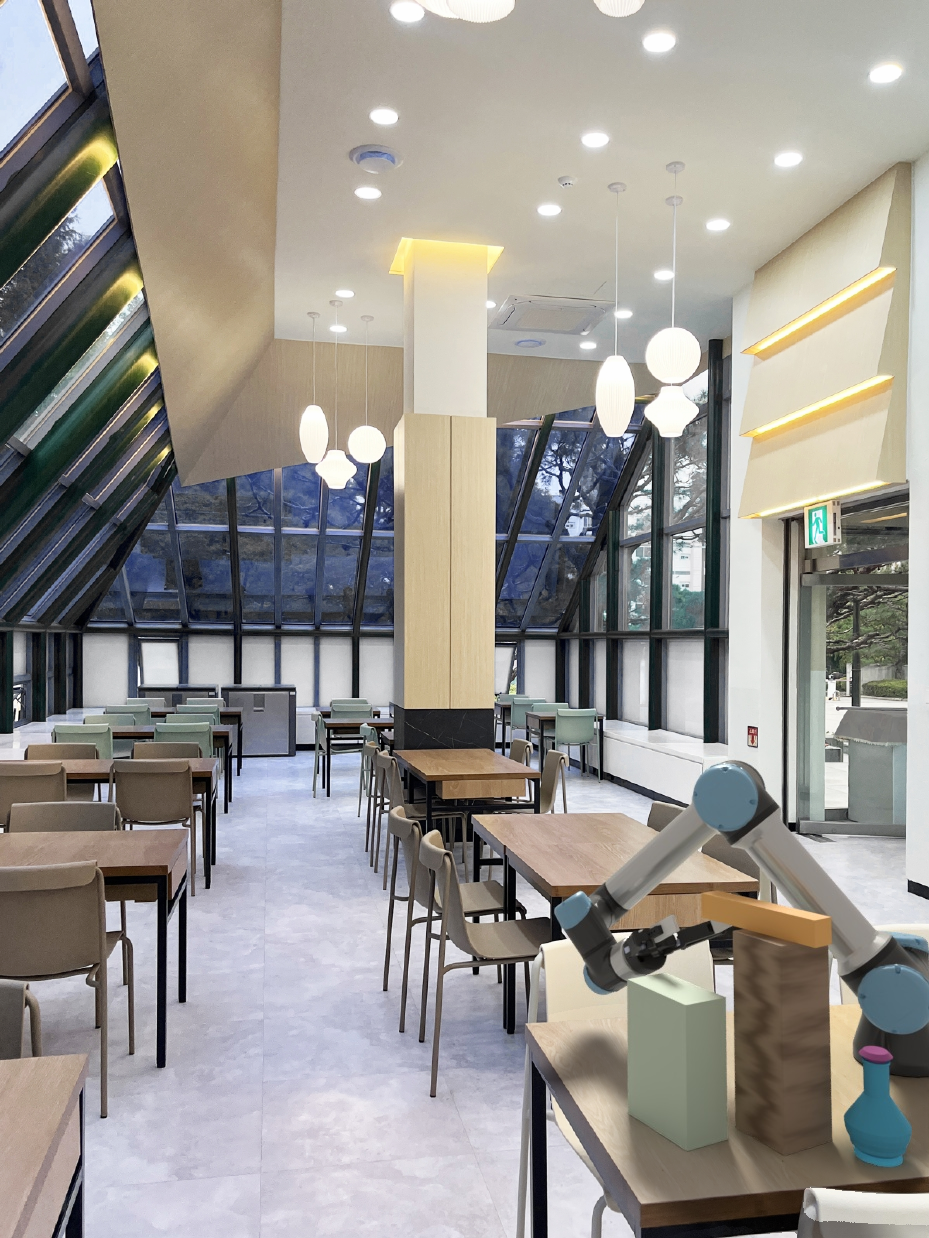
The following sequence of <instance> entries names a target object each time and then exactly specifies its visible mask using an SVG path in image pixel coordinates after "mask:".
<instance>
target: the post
mask: <svg viewBox="0 0 929 1238" xmlns="http://www.w3.org/2000/svg"><path fill="white" fill-rule="evenodd" d="M732 961H733V962H732V963H733V964H732V968H733V970H732V972H733V975H732V976H733V1044H734V1045H733V1046H734V1047H733V1055H734V1060H733V1061H734V1120H735V1121H734V1125H735V1128H736V1129H737V1130H739V1131H741V1132H743V1133H744V1134H746V1135H748V1136H750V1137H752V1138H753V1139H755V1140H757V1141H758V1142H760V1143H762V1144H763V1145H766V1146H768V1147H769V1148H771V1149H773V1151H776V1152H778V1153H780V1154H782V1155H783V1156H789V1155H791V1154H794V1153H795V1154H796V1153H797V1152H801V1151H804V1150H807V1149H810V1148H814V1147H816V1146H819V1145H824V1144H826V1143H829V1142H832V1141H833V1113H832V1112H833V1107H832V1106H833V1105H832V1063H831V1061H832V1060H831V1058H832V1057H831V1013H830V1010H831V1009H830V1005H831V1003H830V964H829V962H830V961H829V950H828V945H826V946H822V947H818V948H813V947H810V946H806V945H802V944H799V943H795V942H791V941H787V940H784V939H780V938H776V937H773V936H769V935H765V934H762V933H758V932H754V931H750V930H747V929H743V928H741V929H736V930H732Z"/></svg>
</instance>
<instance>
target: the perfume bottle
mask: <svg viewBox="0 0 929 1238" xmlns="http://www.w3.org/2000/svg"><path fill="white" fill-rule="evenodd" d="M859 1054H860V1055H861V1056H862V1061H863V1064H862V1078H863V1079H862V1081H863V1083H862V1084H863V1091H862V1092H861V1093H860V1095H859V1096H858V1097H857V1099H856V1100H855V1101H854V1102H853V1103H852V1104H851V1105H850V1106H849V1108H848V1109H847V1110H846V1111H845V1112H844V1115H843V1121H844V1126H845V1130H846V1132H847V1134H848V1136H849V1141H850V1143H851V1145H853V1153H854V1155H855V1156H856V1157H857V1158H858V1159H859V1160H860V1161H863V1162H865V1163H868V1164H869V1163H872V1164H874V1165H873V1166H876V1165H877V1166H878V1167H882V1166H883V1168H894V1167H898V1166H900V1165H902V1164H903V1161H904V1157H903V1155H905V1153H907V1147H908V1145H909V1144H910V1142H911V1139H912V1138H911V1137H912V1133H913V1132H912V1131H913V1127H912V1125H911V1123H910V1122H909V1120H908V1119H907V1117H906V1116H905V1115H904V1113H903V1112H902V1111H901V1109H900V1108H899V1107H898V1105H897V1103H896V1102H895V1101H894V1099H893V1098H892V1096H891V1092H890V1073H889V1065H890V1060H891V1059H893V1056H892V1055H891V1054H890V1053H889V1052H888V1051H887V1050H886V1049H884V1048H881V1047H877V1046H865V1047H863V1048H862V1049H861V1050H860V1051H859ZM901 1163H902V1164H901ZM872 1164H871V1165H872Z"/></svg>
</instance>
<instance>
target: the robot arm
mask: <svg viewBox="0 0 929 1238" xmlns="http://www.w3.org/2000/svg"><path fill="white" fill-rule="evenodd" d="M766 788H767V787H766V784H765V781H764V779H763V776H762V775H761V773H760V772H759V771H758V769H756V768H755V767H754V766H753V765H751V764H749V763H747V762H745V761H742V760H735V759H731V760H725V761H723V762H719V763H716V764H713V765H711V766H710V767H708V768H706V769H705V770H704V771H703V772H702V773H701V774H700V775H699V777H698V779H697V780H696V782H695V783H694V787H693V793H692V795H691V803H690V804H689V805H688V806H687V807H686V808H684V810H683V811H682V812H681V813H679V814H678V815H677V816H675V817H674V819H673V820H671V822H669V823H668V824H667V825H666V826H665V827H663V829H661V831H660V832H659V833H657V834H656V835H655V836H654V837H652V838H651V840H650V841H648V842H647V843H646V844H645V845H644V846H643V847H642V848H641V849H640V850H638V851H637V852H636V853H635V854H634V855H633V856H632V857H631V858H629V860H627V861H626V862H625V863H624V864H623V865H622V866H620V867H619V869H618V870H616V871H615V872H614V873H613V874H612V875H611V876H609V878H607V880H605V881H604V883H602V884H601V885H600V886H599V887H597V889H595V891H593V892H592V893H591V894H590V895H589V896H588V895H587V894H586V893H585V892H584V891H582V890H579V891H577V892H576V893H574V894H573V895H571V896H570V897H568V898H567V899H565V900H564V901H562V902H561V903H560V904H558V905H557V906H556V907H554V911H553V913H554V915H555V917H556V919H557V921H558V923H559V925H560V927H561V929H563V931H564V932H565V934H566V935H567V937H568V938H569V940H570V941H571V942H572V944H573V946H574V947H575V949H576V950H577V952H578V954H579V955H580V957H581V958H582V960H583V962H584V966H583V970H582V974H583V977H584V978H583V979H584V982H585V985H586V987H588V989H589V990H591V991H592V992H593V993H595V994H597V995H600V996H606V995H610V994H612V993H616V992H619V991H620V990H623V989H625V987H626V988H627V979H631V978H637V977H643V976H649V975H652V974H653V973H655V972H657V971H658V970H661V969H662V968H663V967H664V966H665V964H666V962H667V957H668V955H669V956H670V955H672V954H674V952H676V951H680V950H681V951H685V950H686V949H688V948H690V947H692V946H694V945H697V944H701V943H703V942H705V941H708V940H711V939H714V938H717V937H719V936H723V935H725V934H726V933H727V929H728V928H731V927H733V926H732V925H728V924H725V923H721V922H717V921H713V920H710V919H709V920H707V921H704V922H700V923H698V924H695V925H692V926H689V927H686V928H683V929H680V927H679V924H678V921H677V918H676V915H675V914H674V913H673V914H671V915H668V916H667V917H665V918H663V919H661V920H659V921H658V922H656V923H654V924H652V925H651V926H649V928H643V929H639V930H633V931H632V932H631V933H630V935H629V936H626V937H625V938H623V939H621V940H620V941H617V939H616V938H615V937H614V935H613V933H612V931H611V930H610V928H611V927H613V926H615V925H616V924H617V923H618V922H619V921H620V920H621V919H622V918H623V917H624V916H625V915H627V913H629V911H630V910H631V909H632V908H634V907H635V906H636V905H637V904H638V903H639V902H640V901H641V900H643V899H644V898H645V897H646V896H647V895H649V894H650V893H651V892H652V891H653V890H654V889H656V888H657V887H658V886H659V885H660V884H661V883H662V882H663V881H665V880H666V879H667V878H668V877H669V876H670V875H671V874H672V873H674V872H675V871H676V870H677V869H678V868H679V867H680V866H681V865H683V864H684V863H685V862H687V860H688V859H690V858H691V857H692V856H693V855H694V854H695V853H696V852H698V851H699V850H700V849H701V848H702V847H703V846H704V845H705V844H707V843H708V842H709V841H710V840H711V839H712V838H713V837H714V836H716V835H717V834H718V833H719V834H720V835H721V837H723V838H724V839H725V841H726V842H727V844H729V846H730V847H731V848H734V849H735V848H736V849H741V850H744V851H745V852H746V853H747V854H748V855H749V857H750V858H751V860H753V862H754V863H755V864H756V865H757V866H758V867H759V870H760V869H761V870H762V871H763V872H764V873H765V875H766V876H767V877H768V878H769V879H770V881H771V883H772V884H773V885H774V886H775V888H776V889H777V890H778V891H779V893H780V894H781V895H782V896H783V897H784V898H785V900H786V901H787V902H788V903H789V905H791V908H795V909H799V910H803V911H808V912H812V913H816V914H820V915H825V916H829V917H831V931H832V944H830V945H828V952H830V953H831V955H832V956H833V957H834V958H835V959H836V961H837V969H836V970H837V971H836V973H837V975H838V977H839V978H841V981H843V982H844V983H845V985H846V986H847V987H848V989H849V990H850V991H851V992H852V993H853V994H854V996H855V997H856V998H857V1001H858V1004H859V1008H860V1009H861V1014H860V1015H861V1016H860V1018H859V1021H858V1025H857V1028H856V1031H855V1034H854V1037H853V1038H852V1055H853V1057H854V1058H855V1059H856V1061H858V1062H859V1063H860V1064H862V1065H863V1061H862V1056H861V1055H860V1054H859V1051H860V1050H861V1049H862V1048H863V1047H865V1046H877V1047H881V1048H884V1049H886V1050H887V1051H888V1052H889V1053H890V1054H891V1055H892V1056H893V1059H891V1060H890V1065H889V1075H890V1074H891V1075H894V1076H895V1075H897V1076H903V1077H915V1078H916V1077H917V1078H918V1077H929V942H928V940H927V939H926V938H925V937H923V936H919V935H917V934H910V933H904V932H898V931H897V932H896V931H886V930H877V929H876V928H875V927H874V926H873V925H872V924H871V922H869V920H867V918H866V917H865V916H864V914H863V913H861V911H860V910H859V909H858V908H857V907H856V905H855V904H854V903H853V902H852V901H851V900H850V899H849V897H848V896H847V895H846V894H845V893H844V892H843V890H841V888H840V887H839V885H837V884H836V882H835V881H834V880H833V879H832V877H831V876H830V875H829V874H828V873H827V872H826V871H825V870H824V868H823V867H822V866H821V865H820V863H818V861H817V860H816V859H815V858H814V857H813V856H812V854H811V853H810V852H809V851H808V850H807V849H806V848H805V846H803V844H802V843H801V842H800V841H799V839H797V838H796V836H795V835H794V834H793V833H792V832H791V830H790V829H789V828H788V827H787V826H786V825H785V823H784V822H783V821H782V816H781V815H782V807H781V806H780V805H779V804H778V803H777V802H776V800H775V799H774V798H773V797H772V795H770V794H769V793H768V791H767V789H766ZM675 934H676V935H677V936H676V935H675Z"/></svg>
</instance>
